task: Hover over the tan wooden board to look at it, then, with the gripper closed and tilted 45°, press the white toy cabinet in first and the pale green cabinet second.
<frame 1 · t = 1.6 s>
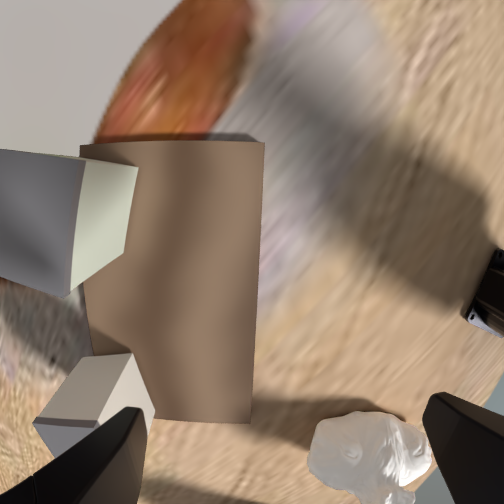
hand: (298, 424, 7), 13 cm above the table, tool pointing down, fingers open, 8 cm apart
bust: (358, 434, 24), on the table
white toy cabinet 1: (102, 419, 16), point 5 cm above the table, slide at 0.0 cm
tan wooden board: (161, 296, 20), on the table
pale green cabinet 2: (69, 212, 14), point 5 cm above the table, slide at 0.0 cm
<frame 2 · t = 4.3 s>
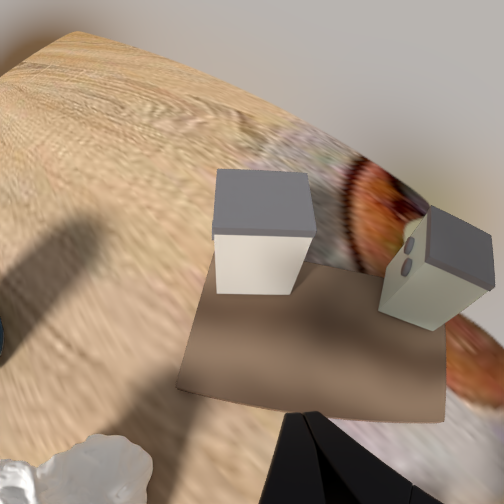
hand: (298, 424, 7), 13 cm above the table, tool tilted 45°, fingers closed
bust: (99, 498, 15), on the table
white toy cabinet 1: (256, 238, 20), point 5 cm above the table, slide at 0.0 cm
tan wooden board: (330, 334, 22), on the table
pale green cabinet 2: (433, 274, 20), point 5 cm above the table, slide at 0.0 cm
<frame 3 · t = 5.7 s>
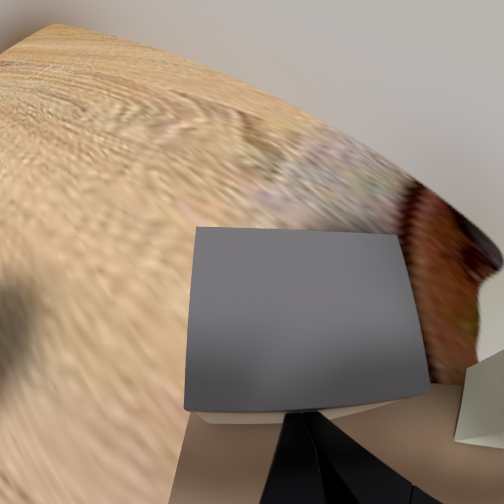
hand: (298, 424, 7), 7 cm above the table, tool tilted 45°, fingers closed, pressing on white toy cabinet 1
white toy cabinet 1: (280, 356, 10), point 5 cm above the table, slide at 1.0 cm, touching gripper
tan wooden board: (384, 480, 11), on the table
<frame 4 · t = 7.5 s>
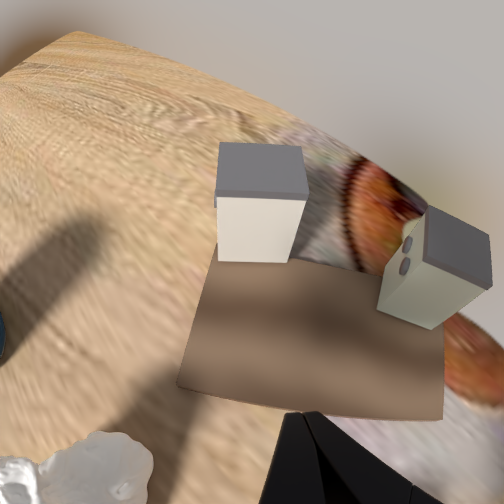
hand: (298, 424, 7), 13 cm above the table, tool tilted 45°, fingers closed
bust: (100, 495, 15), on the table
white toy cabinet 1: (255, 207, 22), point 5 cm above the table, slide at 2.5 cm
tan wooden board: (329, 333, 22), on the table
pale green cabinet 2: (431, 273, 20), point 5 cm above the table, slide at 0.0 cm
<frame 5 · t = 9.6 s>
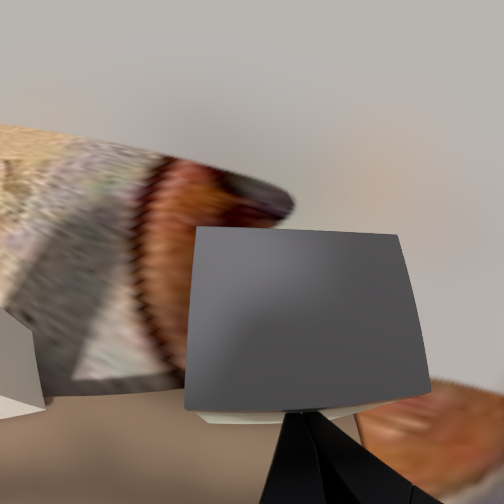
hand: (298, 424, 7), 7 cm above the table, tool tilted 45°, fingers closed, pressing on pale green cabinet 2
tan wooden board: (150, 498, 10), on the table
pale green cabinet 2: (280, 355, 10), point 5 cm above the table, slide at 1.4 cm, touching gripper
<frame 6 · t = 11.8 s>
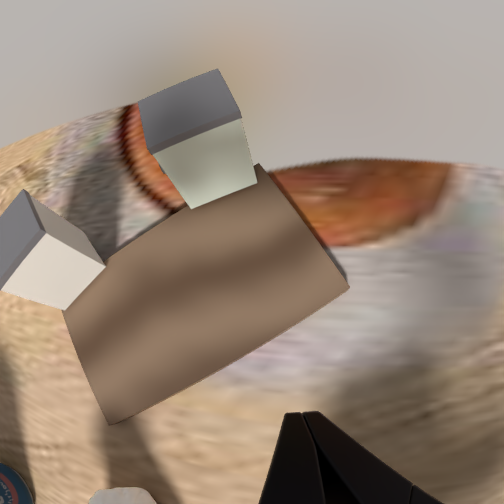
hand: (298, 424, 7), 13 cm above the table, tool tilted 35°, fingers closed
soda can: (17, 490, 18), on the table
white toy cabinet 1: (42, 256, 19), point 5 cm above the table, slide at 2.5 cm
tan wooden board: (181, 291, 22), on the table
pale green cabinet 2: (200, 144, 20), point 5 cm above the table, slide at 2.5 cm
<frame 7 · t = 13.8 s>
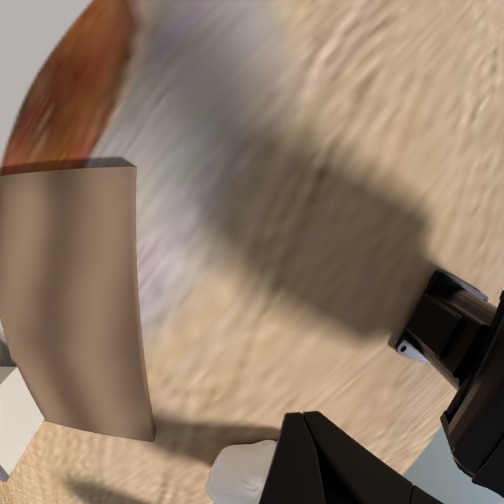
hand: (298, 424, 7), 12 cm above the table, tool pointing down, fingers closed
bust: (277, 461, 23), on the table
tan wooden board: (59, 316, 19), on the table
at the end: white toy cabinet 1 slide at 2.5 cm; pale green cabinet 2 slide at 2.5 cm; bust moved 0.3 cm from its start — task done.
